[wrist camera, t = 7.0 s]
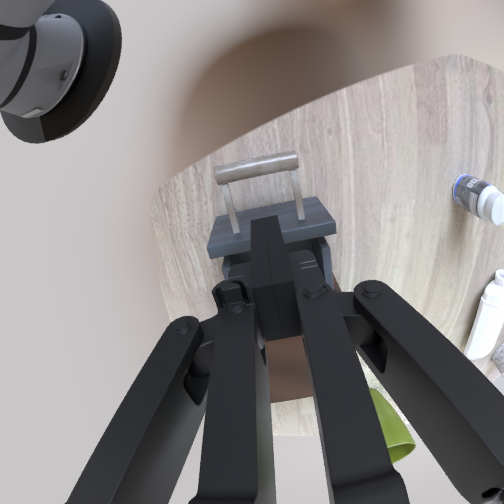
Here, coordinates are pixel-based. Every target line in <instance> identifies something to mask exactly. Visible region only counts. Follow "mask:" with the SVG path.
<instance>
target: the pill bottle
mask: <svg viewBox="0 0 504 504" xmlns="http://www.w3.org/2000/svg"><path fill="white" fill-rule="evenodd" d="M453 198H454V200H455V202H456V203H457V204H458V205H460V206H461V207H463V208H465V209H466V210H468V211H469V212H471V213H473V214H474V215H476V216H477V217H479V218H480V219H482V220H484V221H490V222H491V223H493V224H494V225H501V224H502V223H503V222H504V194H502V193H501V192H499V191H498V189H497V188H496V187H494V186H493V185H490V184H488V183H486V182H484V181H482V180H480V179H478V178H475V177H473V176H471V175H468V174H463V175H460V176H459V177H458V178H457V179H456V181H455V183H454V186H453Z"/></svg>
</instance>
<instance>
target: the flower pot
mask: <svg viewBox="0 0 504 504" xmlns="http://www.w3.org/2000/svg"><path fill="white" fill-rule="evenodd" d="M369 390H370V393H371V396H372V399H373V402H374V405H375V408H376V411H377V414H378V418H379V421H380V424H381V427H382V431H383V434H384V437H385V441H386V444H387V448H388V451H389V455H390V458H391V462H392V464H393V463H395V462H397V461H399V460H401V459H403V458H404V457H406V456H407V455H408V454H410V453H411V452H412V451H413V450H414V449H415V447H416V444H415V442H414V440H413V438H412V436H411V434H410V433H409V431H408V429H407V427H406V426H405V424H404V422H403V421H402V419H401V418H400V416H399V415H398V414H397V412H396V411H395V410H394V408H393V407H392V406H391V405H390V404H389V402H388V401H387V400H386V399H385V398H384V397H383V396H382V395H381V394H380V393H379V392H378V391H377V390H376V389H372V388H369Z"/></svg>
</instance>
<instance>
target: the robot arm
mask: <svg viewBox="0 0 504 504" xmlns="http://www.w3.org/2000/svg"><path fill="white" fill-rule="evenodd" d="M55 1H56V0H0V110H3V111H5V112H8V113H12V114H15V115H17V116H19V117H23V118H34V117H40V116H44V115H47V114H49V113H51V112H52V111H54V110H55V109H57V108H58V107H59V106H60V105H61V104H62V103H63V102H64V101H65V100H66V99H67V98H68V96H69V95H70V94H71V92H72V91H73V89H74V88H75V86H76V84H77V83H78V81H79V79H80V76H81V74H82V72H83V69H84V66H85V62H86V58H87V52H88V38H87V33H86V30H85V28H84V26H83V25H82V23H81V22H80V21H79V20H77V19H75V18H73V17H71V16H68V15H65V14H51V15H45V11H46V10H47V9H48V8H49V7H50V6H51V5H52V4H53V3H54V2H55ZM212 294H213V297H214V300H215V302H216V305H217V308H218V314H217V315H215V316H214V317H212V318H210V319H207V320H205V321H202V322H199V321H198V319H197V318H195V317H193V316H183V317H180V318H178V319H176V320H174V321H173V322H171V323H170V325H169V326H168V327H167V328H166V330H165V332H164V333H163V335H162V336H161V338H160V340H159V341H158V343H157V344H156V346H155V348H154V349H153V351H152V353H151V354H150V356H149V357H148V359H147V361H146V363H145V364H144V366H143V367H142V369H141V371H140V372H139V374H138V376H137V377H136V379H135V381H134V382H133V384H132V386H131V387H130V389H129V391H128V392H127V394H126V396H125V397H124V399H123V401H122V403H121V404H120V406H119V408H118V409H117V411H116V413H115V415H114V416H113V418H112V420H111V422H110V423H109V425H108V427H107V429H106V430H105V432H104V434H103V436H102V437H101V439H100V441H99V443H98V445H97V446H96V448H95V450H94V452H93V454H92V455H91V457H90V459H89V461H88V463H87V464H86V466H85V468H84V470H83V472H82V474H81V476H80V478H79V479H78V481H77V483H76V485H75V487H74V489H73V491H72V493H71V495H70V497H69V498H68V500H67V502H66V503H65V504H168V503H169V500H170V498H171V495H172V493H173V491H174V488H175V485H176V483H177V481H178V478H179V476H180V474H181V471H182V469H183V466H184V464H185V461H186V458H187V456H188V454H189V451H190V449H191V446H192V444H193V441H194V439H195V436H196V434H197V431H198V429H199V426H200V423H201V421H202V418H203V416H204V413H205V411H206V413H205V422H204V433H203V442H202V451H201V452H202V453H201V462H200V473H199V484H198V491H197V494H196V496H195V497H194V498H193V499H191V500H190V501H189V503H188V504H276V489H275V488H276V487H275V469H274V452H273V435H272V419H271V403H270V388H269V373H268V358H267V349H266V346H265V340H266V342H269V341H274V340H280V339H285V338H291V337H296V336H301V335H302V338H303V345H304V352H305V357H306V361H307V366H308V371H309V376H310V382H311V387H312V393H313V399H314V404H315V410H316V416H317V422H318V428H319V434H320V439H321V446H322V452H323V459H324V466H325V472H326V479H327V486H328V493H329V500H330V504H410V503H409V498H408V494H407V490H406V487H405V484H404V481H403V478H402V477H401V475H400V473H398V472H397V471H396V470H395V469H394V467H393V465H392V462H391V458H390V455H389V451H388V448H387V444H386V441H385V437H384V434H383V431H382V427H381V424H380V421H379V418H378V414H377V411H376V408H375V405H374V402H373V399H372V396H371V393H370V390H369V387H368V384H367V381H366V378H365V375H364V372H363V370H362V367H361V364H360V361H359V358H358V356H357V353H356V351H357V352H358V353H359V355H360V356H361V357H362V359H363V360H364V361H365V363H366V364H367V365H368V367H369V368H370V369H371V371H372V372H373V373H374V375H375V376H376V377H377V379H378V380H379V381H380V383H381V384H382V386H383V387H384V388H385V390H386V391H387V392H388V394H389V395H390V396H391V398H392V399H393V400H394V402H395V403H396V405H397V406H398V407H399V409H400V410H401V411H402V413H403V414H404V416H405V417H406V418H407V420H408V421H409V422H410V424H411V425H412V427H413V428H414V429H415V431H416V432H417V434H418V435H419V436H420V438H421V439H422V441H423V442H424V443H425V445H426V446H427V448H428V449H429V450H430V452H431V453H432V455H433V456H434V458H435V459H436V460H437V462H438V463H439V465H440V466H441V468H442V469H443V471H444V472H445V474H446V475H447V476H448V478H449V479H450V481H451V482H452V484H453V485H454V487H455V488H456V489H457V490H458V492H459V493H460V494H461V495H462V496H463V497H464V498H465V499H466V500H467V501H468V502H469V503H471V504H504V396H503V395H502V394H501V392H500V391H499V390H498V389H497V388H496V387H495V386H494V385H493V384H492V383H491V382H490V381H489V380H488V379H487V378H486V377H485V376H484V375H483V374H482V372H481V371H480V370H479V369H478V368H477V367H476V366H475V365H474V364H473V363H472V362H471V361H470V360H469V359H468V358H467V357H466V356H465V355H464V354H463V353H461V352H460V351H459V350H458V349H457V348H456V347H455V346H454V345H453V344H452V343H451V342H450V341H449V340H448V339H447V338H446V337H445V336H444V335H443V334H442V333H441V332H439V331H438V330H437V329H436V328H435V327H434V326H433V325H432V324H431V323H430V322H429V321H428V320H426V319H425V318H424V317H423V316H422V315H421V314H420V313H419V312H418V311H416V310H415V309H414V308H413V307H412V306H411V305H410V304H409V303H407V302H406V301H405V300H404V299H403V298H402V297H401V296H399V295H398V294H397V293H396V292H395V291H394V290H392V289H391V288H390V287H389V286H388V285H387V284H385V283H383V282H381V281H377V280H367V281H363V282H361V283H359V284H357V285H356V287H355V288H354V292H339V291H335V290H333V289H332V288H331V287H330V286H329V284H327V283H325V280H324V278H323V275H322V273H321V270H320V268H319V266H318V263H317V261H316V258H315V256H314V254H313V253H312V252H310V251H309V250H307V249H306V250H302V251H297V252H292V253H287V251H286V247H285V243H284V239H283V236H282V232H281V228H280V224H279V220H278V216H277V215H274V216H269V217H264V218H259V219H254V220H251V262H246V263H241V264H236V265H233V266H232V267H231V269H230V270H229V271H228V279H227V280H224V281H222V282H220V283H218V284H217V285H216V286H215V287H214V288H213V290H212ZM264 337H265V340H264ZM355 349H356V350H355Z"/></svg>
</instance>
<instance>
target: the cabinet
mask: <svg viewBox="0 0 504 504" xmlns="http://www.w3.org/2000/svg"><path fill="white" fill-rule="evenodd" d="M332 274H333V272H332ZM333 287H334V290H335V291H339V292H342V291H341V289H340V287H339V285H338V283H337V281H336V278H335V276H334V274H333ZM264 340H265V337H264ZM265 346H266V349H267V358H268V373H269V388H270V403H276V402H282V401H289V400H295V399H300V398H306V397H311V396H313V393H312V387H311V382H310V376H309V371H308V366H307V361H306V357H305V352H304V345H303V338H302V335H301V336H296V337H291V338H285V339H280V340H274V341H269V342H266V340H265Z"/></svg>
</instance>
